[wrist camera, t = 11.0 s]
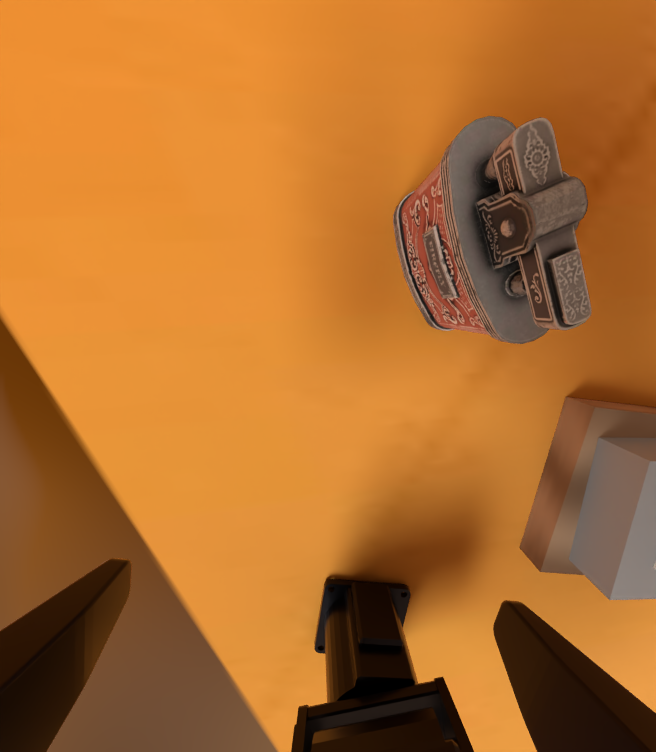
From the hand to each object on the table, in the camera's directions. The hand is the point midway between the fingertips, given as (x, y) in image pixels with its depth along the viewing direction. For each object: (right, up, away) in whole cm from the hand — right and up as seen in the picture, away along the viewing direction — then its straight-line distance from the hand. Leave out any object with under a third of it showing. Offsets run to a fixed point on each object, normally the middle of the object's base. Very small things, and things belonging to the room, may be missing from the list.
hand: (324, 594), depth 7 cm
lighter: (+6, +12, +11) cm, 18 cm away
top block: (+21, -3, +13) cm, 25 cm away
